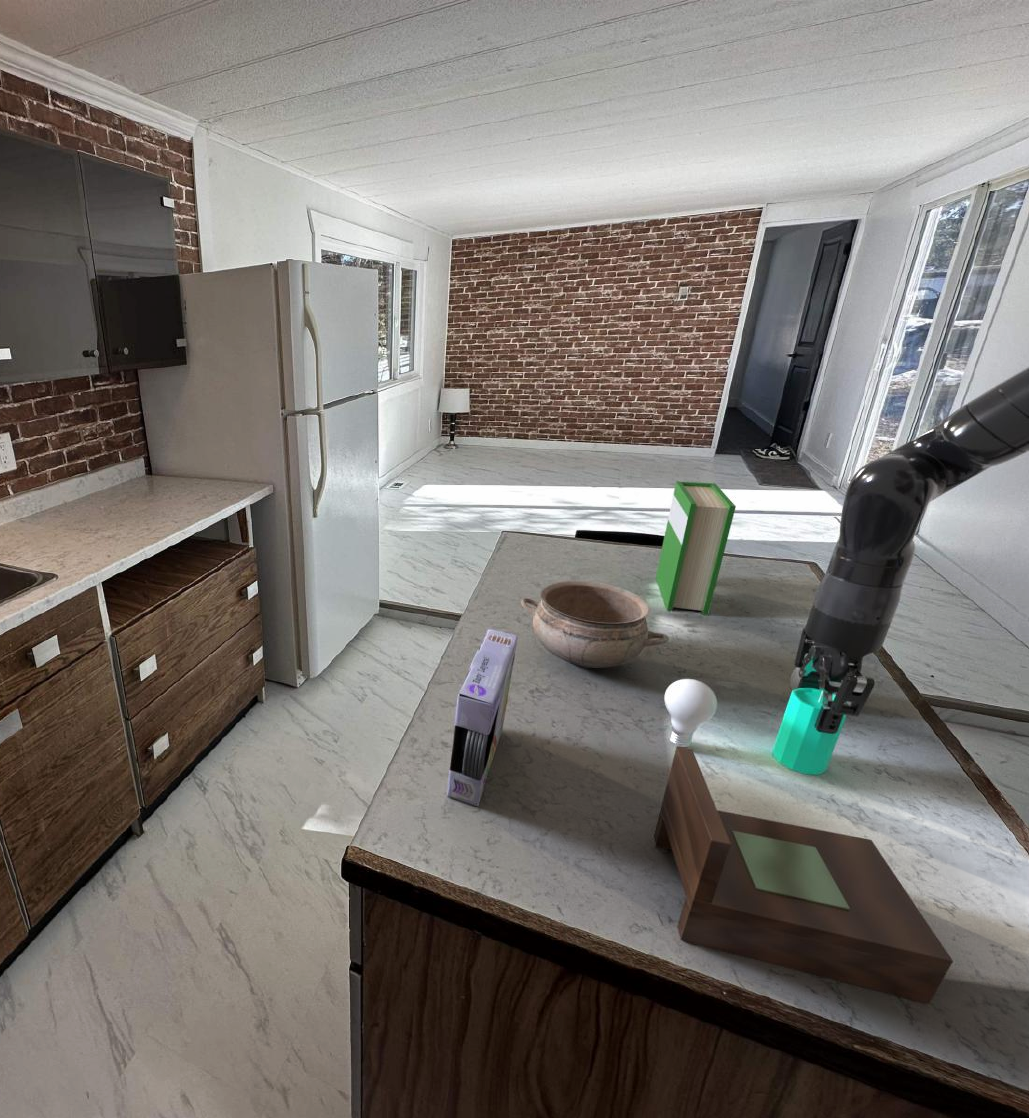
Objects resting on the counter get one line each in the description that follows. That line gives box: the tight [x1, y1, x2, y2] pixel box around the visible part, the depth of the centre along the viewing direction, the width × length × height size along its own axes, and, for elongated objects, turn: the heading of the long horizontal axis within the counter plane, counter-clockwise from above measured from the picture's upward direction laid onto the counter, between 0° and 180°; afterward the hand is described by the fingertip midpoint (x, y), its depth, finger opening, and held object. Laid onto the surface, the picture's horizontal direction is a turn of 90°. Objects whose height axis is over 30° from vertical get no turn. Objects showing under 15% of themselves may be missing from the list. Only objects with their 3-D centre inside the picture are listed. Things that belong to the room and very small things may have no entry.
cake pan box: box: [446, 628, 519, 807], centre depth 84 cm, size 19×5×18 cm, turn 151°
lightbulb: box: [663, 678, 718, 748], centre depth 87 cm, size 6×6×11 cm
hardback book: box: [655, 480, 736, 616], centre depth 129 cm, size 18×7×24 cm, turn 157°
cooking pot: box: [520, 580, 670, 669], centre depth 109 cm, size 25×19×12 cm
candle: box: [772, 688, 848, 776], centre depth 83 cm, size 6×6×12 cm
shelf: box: [652, 746, 954, 1005], centre depth 62 cm, size 20×14×14 cm
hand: (813, 716), depth 82 cm, fingers closed on candle, 6 cm apart
